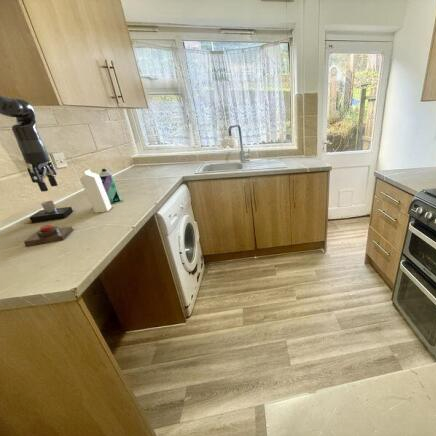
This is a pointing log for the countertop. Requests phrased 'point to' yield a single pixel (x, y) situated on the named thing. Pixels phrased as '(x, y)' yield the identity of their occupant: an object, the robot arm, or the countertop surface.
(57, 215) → the panel
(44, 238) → the igniter
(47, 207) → the hob knob
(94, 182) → the milk
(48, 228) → the button
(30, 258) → the countertop surface
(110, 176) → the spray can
